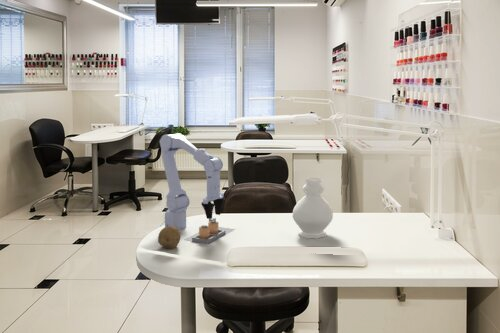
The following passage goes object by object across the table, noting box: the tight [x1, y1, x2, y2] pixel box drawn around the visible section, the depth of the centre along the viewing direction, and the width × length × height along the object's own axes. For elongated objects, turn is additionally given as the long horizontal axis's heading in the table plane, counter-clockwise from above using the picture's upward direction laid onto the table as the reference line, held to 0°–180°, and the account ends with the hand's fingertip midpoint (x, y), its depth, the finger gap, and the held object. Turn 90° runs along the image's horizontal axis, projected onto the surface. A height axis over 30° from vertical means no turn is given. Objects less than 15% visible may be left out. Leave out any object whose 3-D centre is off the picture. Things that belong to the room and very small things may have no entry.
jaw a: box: [198, 224, 210, 239], centre depth 223 cm, size 4×4×6 cm
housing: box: [183, 226, 236, 245], centre depth 231 cm, size 12×24×3 cm, turn 154°
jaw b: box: [207, 220, 219, 234], centre depth 230 cm, size 4×4×6 cm
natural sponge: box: [157, 226, 181, 250], centre depth 213 cm, size 9×9×10 cm
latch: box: [208, 217, 217, 222], centre depth 242 cm, size 2×3×4 cm, turn 154°
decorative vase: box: [292, 177, 334, 239], centre depth 234 cm, size 18×18×25 cm
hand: (213, 216), depth 230 cm, fingers open, 7 cm apart
